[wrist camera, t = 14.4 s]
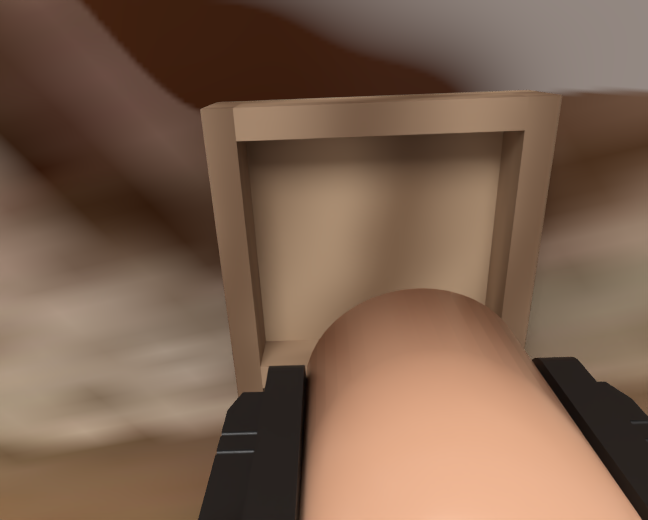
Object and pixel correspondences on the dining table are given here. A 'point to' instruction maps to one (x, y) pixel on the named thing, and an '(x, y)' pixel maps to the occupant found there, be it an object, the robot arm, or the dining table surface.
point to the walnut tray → (373, 209)
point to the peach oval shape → (441, 422)
